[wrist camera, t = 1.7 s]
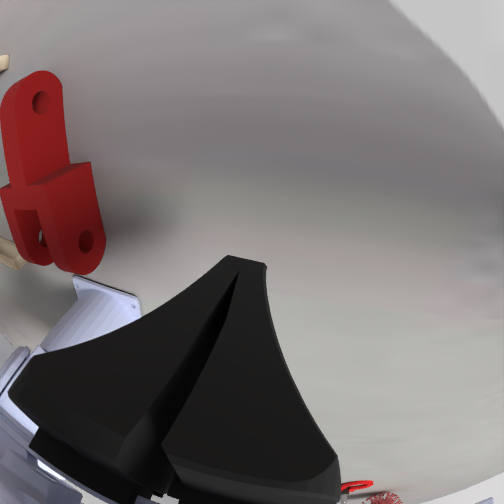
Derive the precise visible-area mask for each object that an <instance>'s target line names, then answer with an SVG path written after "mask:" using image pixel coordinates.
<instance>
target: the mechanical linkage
mask: <svg viewBox="0 0 504 504" xmlns="http://www.w3.org/2000/svg"><path fill="white" fill-rule="evenodd" d="M32 105H33V107H32ZM0 123H1V132H2V140H3V147H4V154H5V160H6V165H7V170H8V175H9V180H10V183H9V184H7V185H6V186H4V187H2V188H0V196H1V200H2V204H3V207H4V211H5V214H6V218H7V221H8V224H9V227H10V231H11V234H12V236H13V239H14V242H15V245H16V248H17V250H18V252H19V254H20V256H21V257H22V258H23V259H24V260H25V261H27V262H30V263H34V264H38V265H42V266H45V265H49V264H51V263H53V262H54V263H55V264H56V266H57V267H58V268H59V269H61V270H63V271H66V272H71V273H75V274H80V275H86V274H89V273H91V272H92V271H94V270H95V269H96V268H97V266H98V265H99V263H100V262H101V259H102V257H103V254H104V251H105V245H106V236H105V232H104V228H103V224H102V220H101V215H100V211H99V206H98V201H97V197H96V191H95V186H94V181H93V175H92V169H91V162H84V163H76V164H70V160H69V153H68V146H67V139H66V130H65V121H64V109H63V94H62V85H61V82H60V81H59V79H58V78H57V77H56V76H55V75H54V74H52V73H51V72H48V71H36V72H34V73H32V74H30V75H28V76H27V77H25V78H23V79H21V80H20V81H18V82H16V83H15V84H13V85H12V86H11V87H10V88H9V89H8V91H7V92H6V94H5V95H4V97H3V100H2V103H1V107H0ZM40 230H42V239H41V241H40V242H39V232H40Z"/></svg>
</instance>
